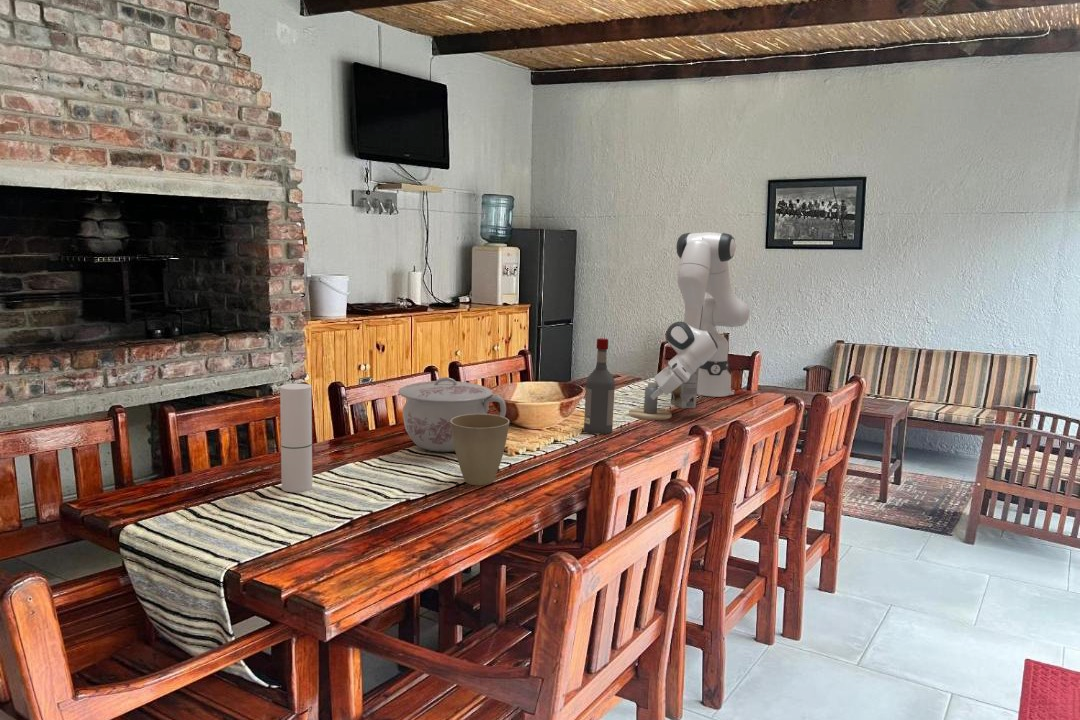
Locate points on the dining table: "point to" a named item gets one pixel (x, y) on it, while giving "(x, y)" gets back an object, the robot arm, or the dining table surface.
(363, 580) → the dining table surface
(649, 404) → the small gray bottle
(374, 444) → the dining table surface
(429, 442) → the chamber pot
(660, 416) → the trivet
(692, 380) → the coffee box
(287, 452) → the cylindrical container
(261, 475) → the dining table surface
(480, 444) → the plant pot
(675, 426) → the dining table surface
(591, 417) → the liquor
